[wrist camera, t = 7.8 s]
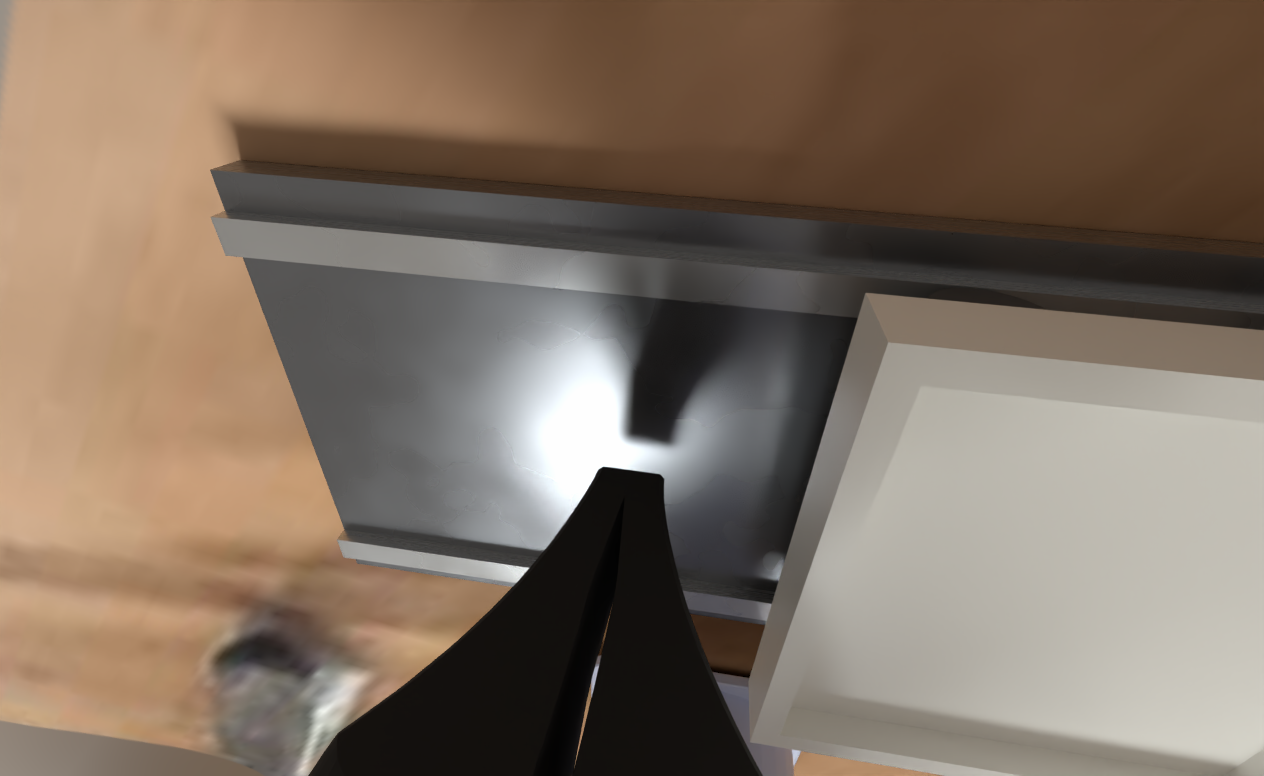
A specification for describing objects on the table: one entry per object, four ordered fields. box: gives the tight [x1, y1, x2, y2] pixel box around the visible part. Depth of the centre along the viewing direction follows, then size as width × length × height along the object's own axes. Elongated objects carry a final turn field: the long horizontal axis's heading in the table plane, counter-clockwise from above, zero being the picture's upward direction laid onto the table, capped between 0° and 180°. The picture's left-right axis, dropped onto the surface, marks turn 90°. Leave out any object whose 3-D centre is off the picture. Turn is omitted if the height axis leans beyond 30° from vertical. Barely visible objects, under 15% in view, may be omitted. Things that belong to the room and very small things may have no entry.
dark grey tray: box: [210, 160, 1264, 625], centre depth 13 cm, size 12×24×2 cm, turn 88°
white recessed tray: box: [748, 288, 1264, 776], centre depth 11 cm, size 11×11×3 cm
